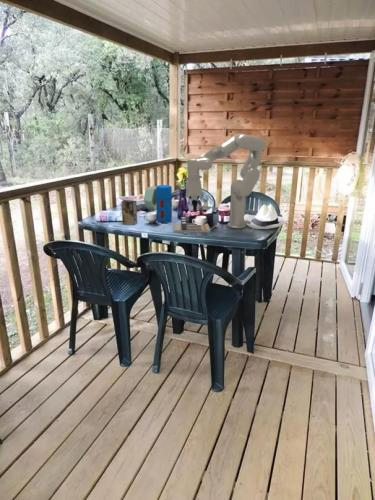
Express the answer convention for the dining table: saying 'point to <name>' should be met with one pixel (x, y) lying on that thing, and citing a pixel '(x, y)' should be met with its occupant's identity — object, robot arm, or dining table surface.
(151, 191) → the planter
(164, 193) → the blue tall box
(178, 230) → the panel
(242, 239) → the dining table surface
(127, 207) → the coffee box
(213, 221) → the dining table surface
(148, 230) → the dining table surface
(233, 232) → the dining table surface
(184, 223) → the breaker
